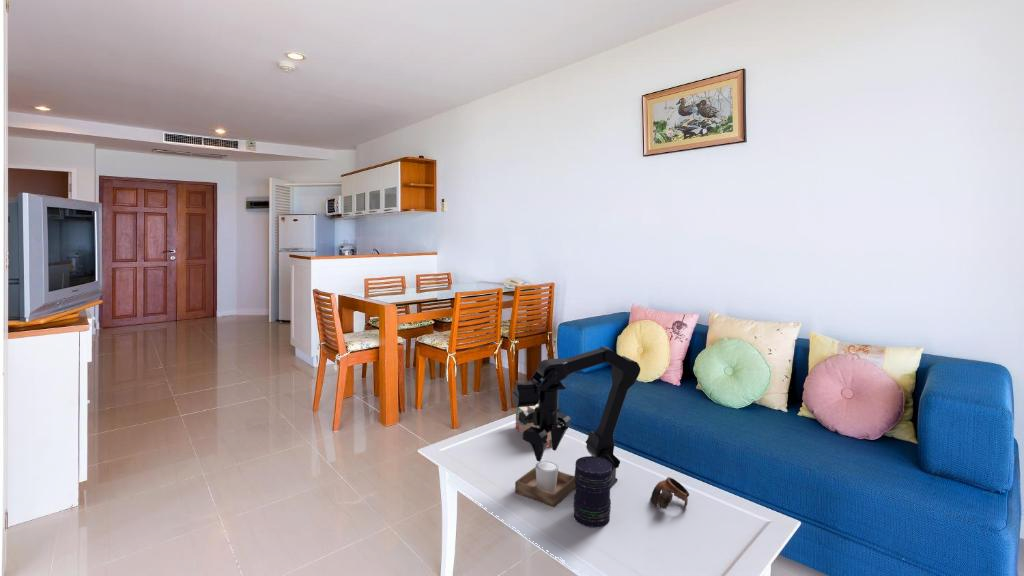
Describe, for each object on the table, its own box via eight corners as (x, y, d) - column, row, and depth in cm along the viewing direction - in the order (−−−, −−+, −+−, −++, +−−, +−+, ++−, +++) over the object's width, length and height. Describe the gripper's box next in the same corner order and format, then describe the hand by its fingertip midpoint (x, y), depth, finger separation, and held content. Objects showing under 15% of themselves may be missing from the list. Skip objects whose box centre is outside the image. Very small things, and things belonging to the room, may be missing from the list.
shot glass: (554, 496, 143) (555, 472, 142) (531, 491, 145) (532, 468, 144) (560, 485, 149) (560, 462, 148) (538, 481, 151) (538, 459, 150)
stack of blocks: (515, 428, 194) (515, 397, 192) (528, 425, 197) (529, 395, 195) (543, 449, 175) (544, 416, 174) (558, 446, 178) (559, 413, 177)
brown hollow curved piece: (651, 493, 147) (667, 471, 146) (679, 517, 143) (695, 494, 142) (641, 501, 137) (658, 478, 136) (671, 527, 132) (688, 503, 131)
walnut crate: (576, 487, 149) (576, 476, 148) (554, 507, 138) (555, 495, 137) (538, 475, 156) (538, 464, 156) (515, 492, 145) (515, 481, 145)
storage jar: (617, 517, 134) (619, 464, 132) (597, 532, 126) (599, 477, 125) (586, 503, 140) (588, 452, 139) (565, 517, 133) (567, 464, 131)
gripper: (540, 390, 156) (539, 438, 158) (507, 407, 141) (506, 459, 142) (572, 398, 150) (570, 447, 152) (541, 415, 135) (539, 470, 136)
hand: (546, 455), depth 146 cm, fingers open, 9 cm apart
